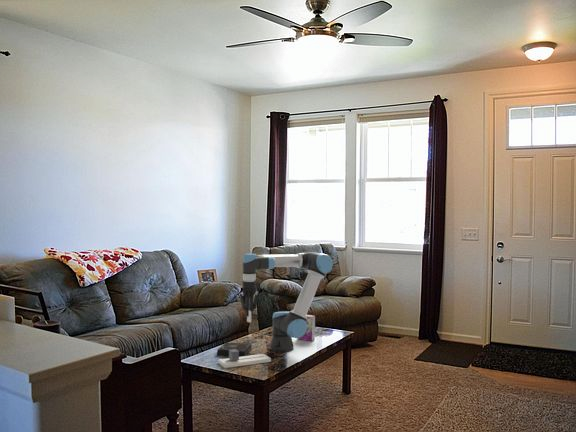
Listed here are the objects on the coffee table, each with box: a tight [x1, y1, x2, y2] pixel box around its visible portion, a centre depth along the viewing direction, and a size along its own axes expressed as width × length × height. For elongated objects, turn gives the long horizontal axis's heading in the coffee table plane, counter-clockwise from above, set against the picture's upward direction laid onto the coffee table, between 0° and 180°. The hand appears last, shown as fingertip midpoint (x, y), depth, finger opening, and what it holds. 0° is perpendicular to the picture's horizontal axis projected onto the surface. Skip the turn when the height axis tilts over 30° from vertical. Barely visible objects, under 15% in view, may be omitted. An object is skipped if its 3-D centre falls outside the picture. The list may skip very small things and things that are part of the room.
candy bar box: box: [296, 314, 316, 342], centre depth 344 cm, size 11×5×16 cm, turn 63°
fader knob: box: [228, 349, 239, 361], centre depth 288 cm, size 4×5×5 cm
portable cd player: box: [216, 342, 252, 357], centre depth 311 cm, size 16×17×4 cm
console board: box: [218, 353, 272, 369], centre depth 291 cm, size 28×10×2 cm, turn 118°
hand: (249, 321), depth 294 cm, fingers closed
